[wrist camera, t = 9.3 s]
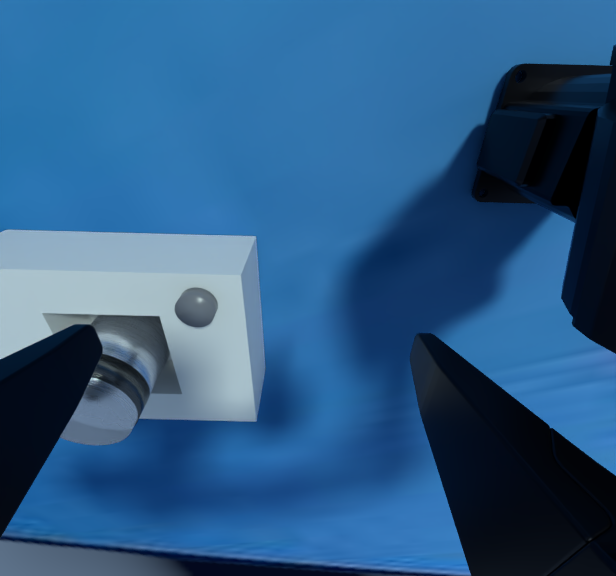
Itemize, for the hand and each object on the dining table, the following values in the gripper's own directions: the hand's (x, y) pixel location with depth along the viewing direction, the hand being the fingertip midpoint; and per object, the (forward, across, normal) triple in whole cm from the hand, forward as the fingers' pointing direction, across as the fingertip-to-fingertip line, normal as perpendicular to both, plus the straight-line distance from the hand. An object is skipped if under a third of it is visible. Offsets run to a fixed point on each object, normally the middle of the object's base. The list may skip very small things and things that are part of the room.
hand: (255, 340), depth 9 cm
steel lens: (+10, +10, +8) cm, 16 cm away
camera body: (+12, +10, +8) cm, 18 cm away
